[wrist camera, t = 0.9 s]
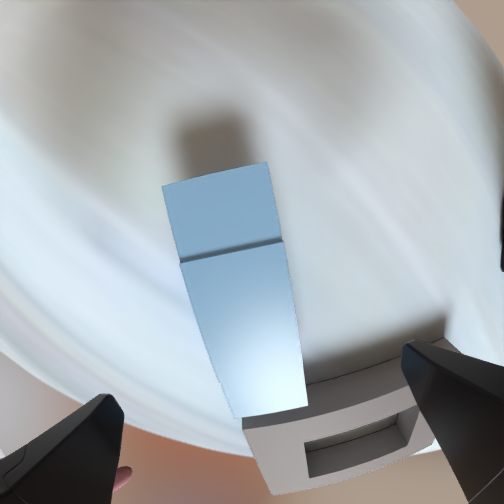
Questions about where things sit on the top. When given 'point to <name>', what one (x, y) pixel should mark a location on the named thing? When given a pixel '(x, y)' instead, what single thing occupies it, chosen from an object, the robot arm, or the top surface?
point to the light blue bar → (240, 286)
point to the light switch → (339, 429)
